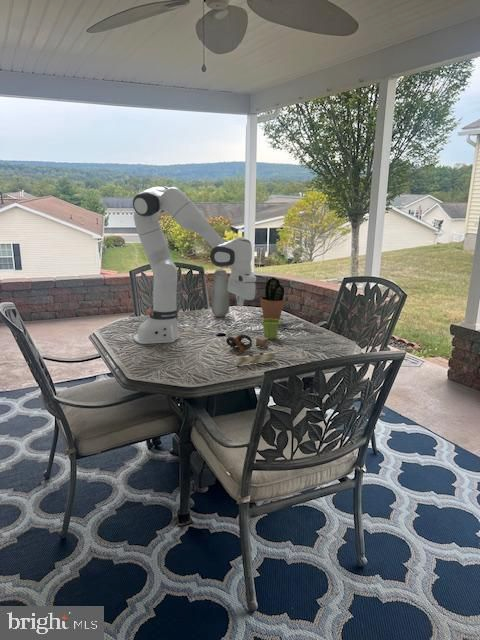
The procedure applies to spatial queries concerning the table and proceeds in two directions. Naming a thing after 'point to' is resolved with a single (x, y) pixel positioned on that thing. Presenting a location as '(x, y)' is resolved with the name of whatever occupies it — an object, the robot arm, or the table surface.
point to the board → (255, 358)
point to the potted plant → (272, 300)
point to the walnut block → (262, 341)
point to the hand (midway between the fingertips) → (240, 305)
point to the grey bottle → (220, 294)
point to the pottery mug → (239, 342)
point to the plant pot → (270, 328)
